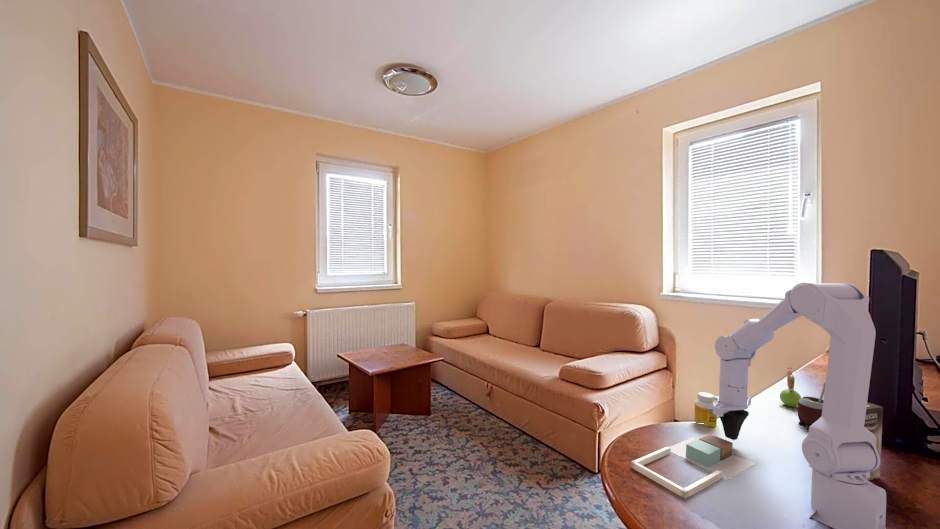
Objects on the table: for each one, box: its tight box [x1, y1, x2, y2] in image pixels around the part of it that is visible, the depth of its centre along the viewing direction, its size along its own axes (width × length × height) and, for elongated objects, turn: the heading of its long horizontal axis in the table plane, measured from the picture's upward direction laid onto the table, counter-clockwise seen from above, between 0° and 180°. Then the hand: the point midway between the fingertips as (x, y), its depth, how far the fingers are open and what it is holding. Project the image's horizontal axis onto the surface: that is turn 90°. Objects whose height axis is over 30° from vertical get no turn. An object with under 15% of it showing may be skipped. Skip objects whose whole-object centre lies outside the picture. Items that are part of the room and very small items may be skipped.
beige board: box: [669, 436, 756, 480], centre depth 87 cm, size 14×12×2 cm
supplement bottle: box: [693, 391, 718, 428], centre depth 105 cm, size 5×5×10 cm
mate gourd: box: [797, 380, 826, 428], centre depth 106 cm, size 8×8×15 cm
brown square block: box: [698, 433, 734, 461], centre depth 89 cm, size 5×5×3 cm
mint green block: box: [686, 438, 721, 468], centre depth 86 cm, size 5×5×3 cm
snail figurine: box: [779, 366, 802, 408], centre depth 122 cm, size 5×6×12 cm
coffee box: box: [864, 401, 884, 481], centre depth 84 cm, size 9×6×16 cm
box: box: [630, 446, 723, 500], centre depth 80 cm, size 12×14×3 cm
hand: (731, 437), depth 92 cm, fingers closed
